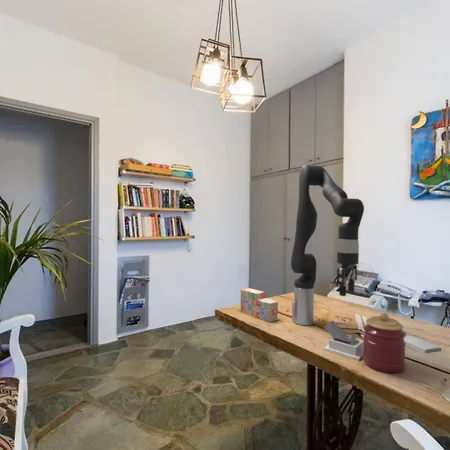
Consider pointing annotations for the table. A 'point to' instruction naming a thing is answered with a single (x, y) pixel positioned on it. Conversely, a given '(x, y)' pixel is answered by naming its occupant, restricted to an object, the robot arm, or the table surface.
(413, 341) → the hard drive
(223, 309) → the table surface
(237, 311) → the table surface
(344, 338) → the block
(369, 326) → the canister
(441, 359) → the table surface
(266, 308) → the stack of blocks
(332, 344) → the dock
